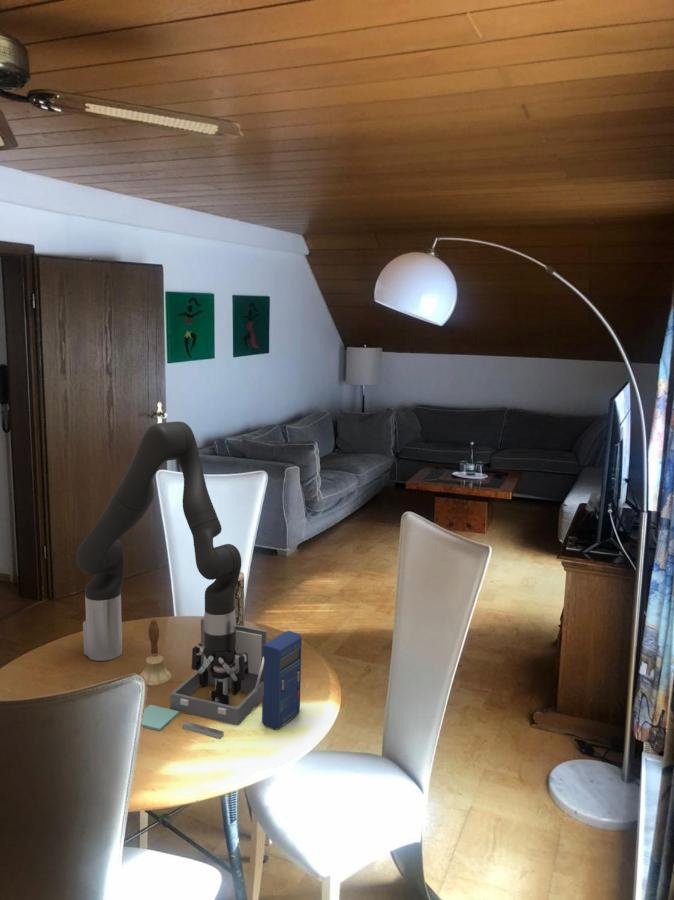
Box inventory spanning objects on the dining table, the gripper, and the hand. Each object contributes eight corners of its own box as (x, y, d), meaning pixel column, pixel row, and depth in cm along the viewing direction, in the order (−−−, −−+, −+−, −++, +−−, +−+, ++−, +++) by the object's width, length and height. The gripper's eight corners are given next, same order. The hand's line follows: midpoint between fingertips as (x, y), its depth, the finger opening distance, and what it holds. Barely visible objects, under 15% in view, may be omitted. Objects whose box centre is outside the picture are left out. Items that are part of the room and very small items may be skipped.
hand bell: (171, 684, 190) (170, 625, 187) (137, 687, 188) (136, 627, 185) (171, 669, 198) (170, 612, 195) (139, 671, 196) (137, 614, 193)
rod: (182, 729, 171) (182, 724, 171) (186, 726, 172) (186, 721, 172) (220, 740, 167) (220, 734, 167) (223, 737, 168) (223, 731, 168)
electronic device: (278, 731, 171) (279, 649, 167) (260, 724, 173) (261, 643, 170) (301, 713, 179) (303, 634, 175) (284, 706, 181) (285, 629, 177)
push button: (202, 701, 183) (201, 663, 181) (218, 693, 187) (218, 655, 185) (219, 711, 178) (219, 672, 177) (236, 702, 182) (237, 664, 181)
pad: (130, 723, 172) (130, 721, 172) (150, 706, 179) (150, 704, 179) (160, 731, 169) (160, 728, 169) (179, 713, 177) (179, 711, 177)
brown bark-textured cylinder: (238, 670, 199) (239, 580, 194) (214, 667, 200) (214, 578, 195) (246, 658, 205) (247, 572, 200) (223, 655, 206) (223, 569, 202)
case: (169, 710, 178) (168, 643, 175) (203, 679, 193) (203, 617, 190) (239, 727, 172) (240, 658, 169) (269, 694, 187) (270, 630, 184)
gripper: (185, 628, 178) (186, 691, 181) (239, 638, 173) (239, 703, 176) (201, 616, 185) (202, 677, 188) (253, 626, 180) (253, 688, 183)
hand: (220, 690), depth 182 cm, fingers open, 8 cm apart
